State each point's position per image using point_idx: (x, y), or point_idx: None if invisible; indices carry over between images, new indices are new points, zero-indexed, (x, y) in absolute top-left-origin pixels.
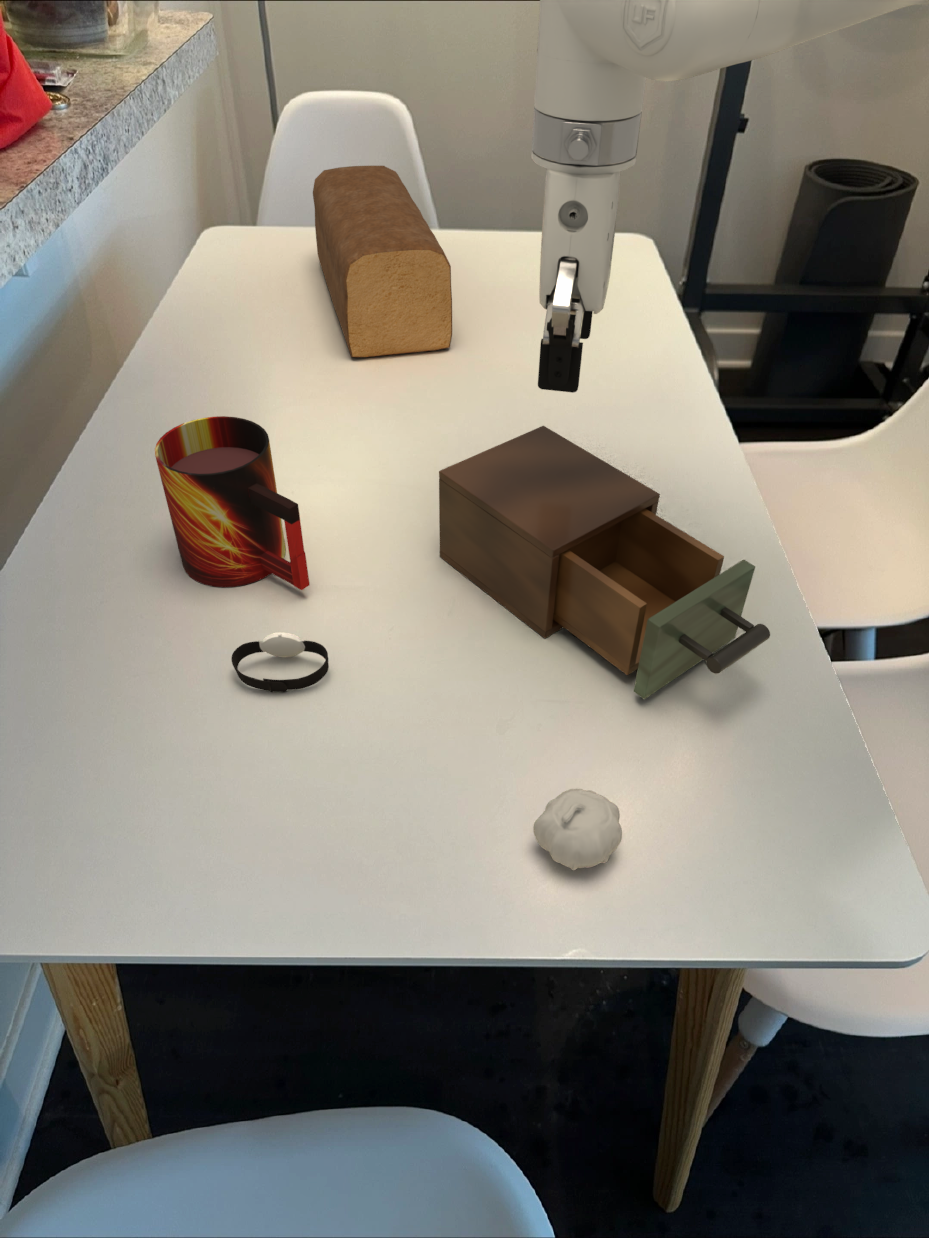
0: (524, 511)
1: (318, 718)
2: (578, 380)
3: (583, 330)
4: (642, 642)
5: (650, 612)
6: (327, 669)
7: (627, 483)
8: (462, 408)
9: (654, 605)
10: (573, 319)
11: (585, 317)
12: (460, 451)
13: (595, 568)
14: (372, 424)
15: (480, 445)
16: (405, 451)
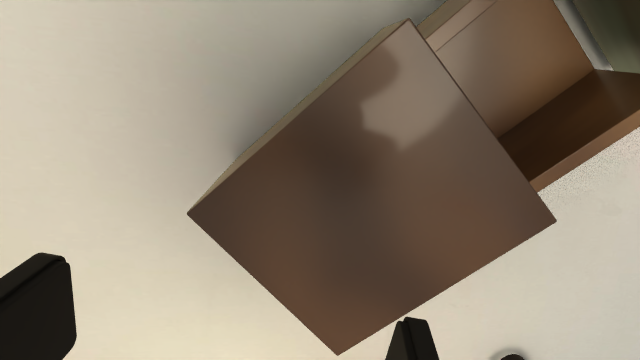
0: (449, 255)
1: (563, 352)
2: (432, 344)
3: (48, 289)
4: (555, 54)
5: (496, 35)
6: (513, 355)
7: (371, 81)
8: (20, 243)
9: (482, 26)
10: (24, 346)
11: (8, 320)
12: (123, 246)
13: (576, 151)
14: (91, 335)
15: (103, 223)
16: (139, 302)
